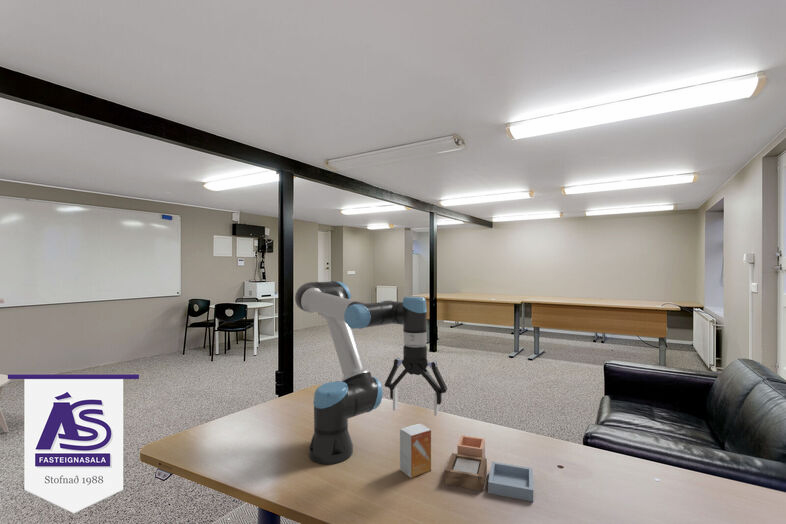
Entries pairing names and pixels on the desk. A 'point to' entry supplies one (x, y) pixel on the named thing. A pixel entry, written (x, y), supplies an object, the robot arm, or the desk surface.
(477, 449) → the pink open box
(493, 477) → the tray
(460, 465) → the plate
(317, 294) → the robot arm
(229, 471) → the desk surface
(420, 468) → the small box
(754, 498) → the desk surface
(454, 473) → the brown wooden square tray
